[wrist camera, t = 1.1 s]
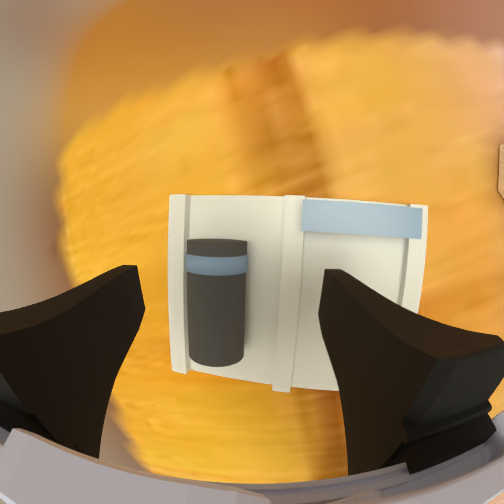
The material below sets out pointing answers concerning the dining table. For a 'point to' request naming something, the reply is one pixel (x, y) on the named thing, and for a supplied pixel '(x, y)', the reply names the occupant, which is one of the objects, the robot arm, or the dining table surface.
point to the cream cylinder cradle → (294, 273)
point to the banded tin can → (216, 300)
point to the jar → (501, 170)
